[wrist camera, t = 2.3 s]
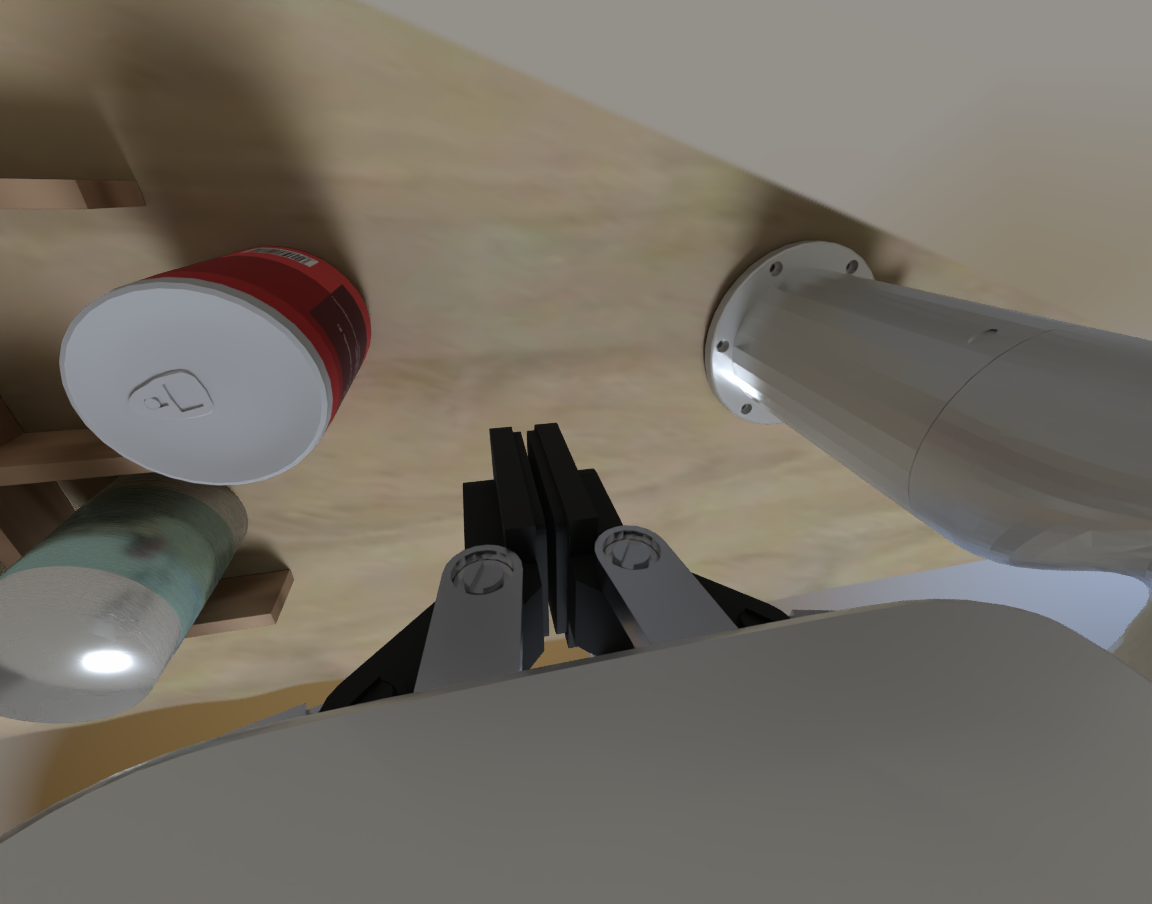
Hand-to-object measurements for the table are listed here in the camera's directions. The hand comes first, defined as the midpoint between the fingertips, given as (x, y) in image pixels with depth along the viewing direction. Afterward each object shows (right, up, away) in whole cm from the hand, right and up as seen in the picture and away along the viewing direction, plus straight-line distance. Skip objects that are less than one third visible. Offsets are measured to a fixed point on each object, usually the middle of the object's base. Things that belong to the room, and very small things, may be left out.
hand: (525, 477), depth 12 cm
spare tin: (-24, -4, +18) cm, 30 cm away
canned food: (-14, +8, +14) cm, 21 cm away
